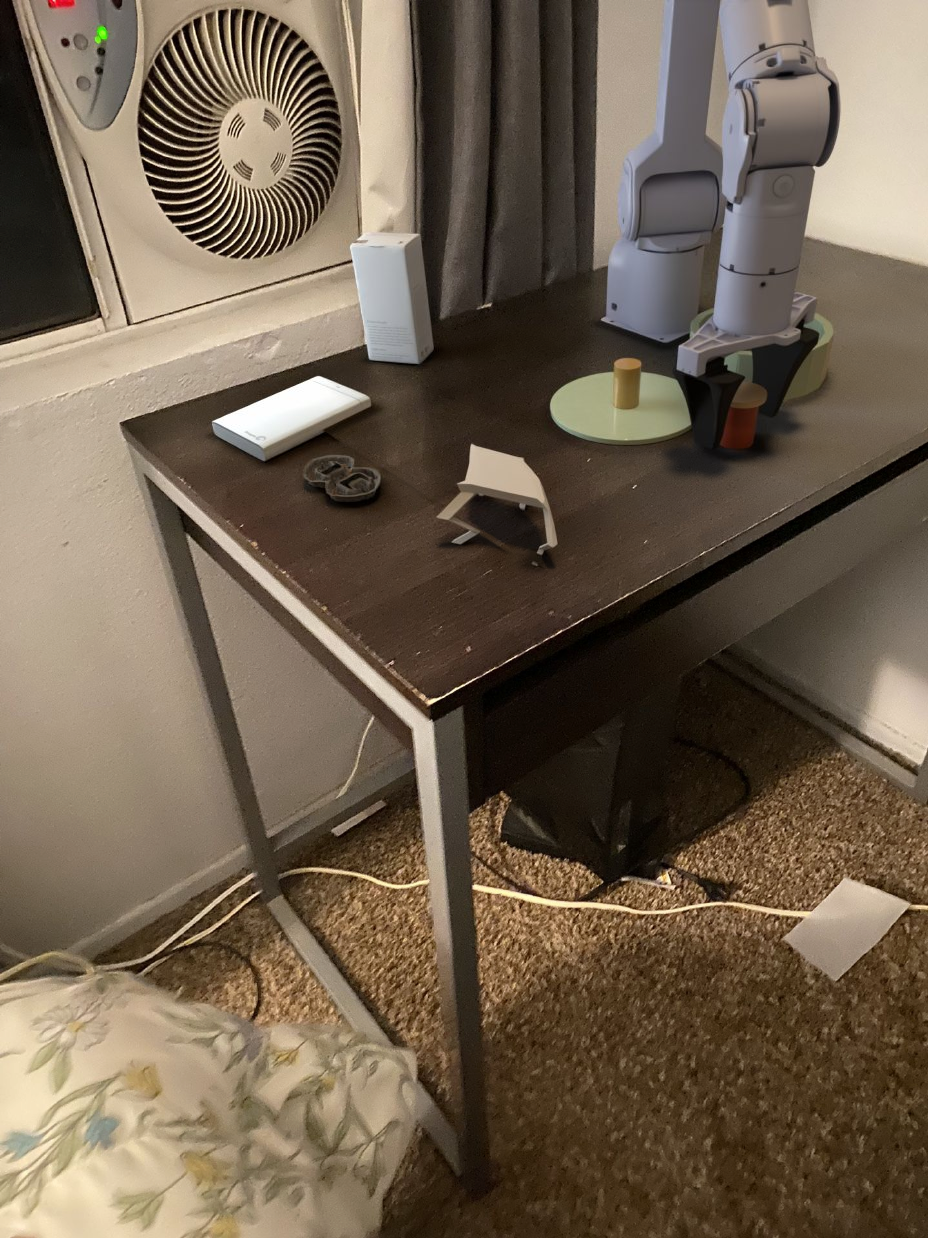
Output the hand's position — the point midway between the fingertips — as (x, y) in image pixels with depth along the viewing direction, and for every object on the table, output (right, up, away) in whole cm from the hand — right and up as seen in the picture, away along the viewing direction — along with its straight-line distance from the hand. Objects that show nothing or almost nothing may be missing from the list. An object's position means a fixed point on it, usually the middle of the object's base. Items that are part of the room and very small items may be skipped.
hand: (735, 428), depth 76 cm
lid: (-8, +3, +6) cm, 11 cm away
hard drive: (-39, +2, +10) cm, 40 cm away
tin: (+5, +7, +11) cm, 14 cm away
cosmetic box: (-30, +12, +20) cm, 38 cm away
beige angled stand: (-20, -10, -7) cm, 23 cm away
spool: (0, -1, +1) cm, 2 cm away
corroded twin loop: (-33, -5, 0) cm, 33 cm away
